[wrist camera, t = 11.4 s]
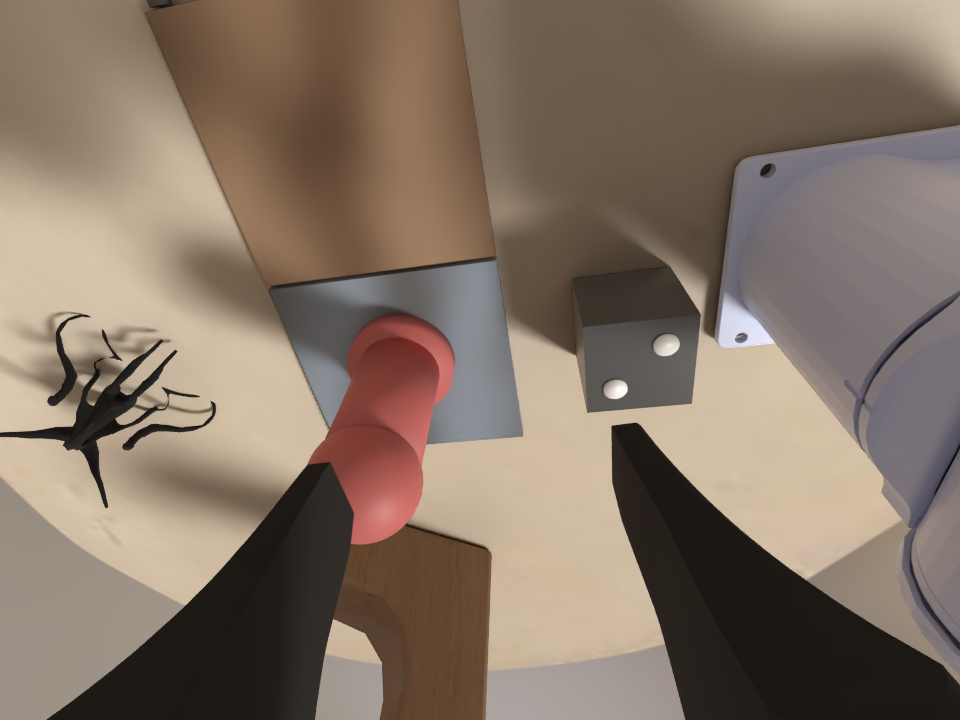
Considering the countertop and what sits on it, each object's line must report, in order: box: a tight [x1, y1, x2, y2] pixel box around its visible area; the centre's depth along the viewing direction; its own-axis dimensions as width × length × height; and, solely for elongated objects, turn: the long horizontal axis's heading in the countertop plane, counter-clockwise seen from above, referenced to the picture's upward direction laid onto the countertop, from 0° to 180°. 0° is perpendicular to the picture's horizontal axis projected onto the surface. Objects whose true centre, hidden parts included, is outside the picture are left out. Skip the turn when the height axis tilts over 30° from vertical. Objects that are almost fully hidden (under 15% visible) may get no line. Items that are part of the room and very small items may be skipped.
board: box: [144, 0, 523, 444], centre depth 18 cm, size 10×30×1 cm, turn 9°
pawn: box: [307, 314, 455, 544], centre depth 19 cm, size 5×5×10 cm
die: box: [572, 266, 701, 413], centre depth 20 cm, size 4×4×4 cm
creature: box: [0, 315, 216, 508], centre depth 23 cm, size 8×5×8 cm
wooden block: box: [333, 526, 492, 720], centre depth 25 cm, size 9×4×18 cm, turn 68°
